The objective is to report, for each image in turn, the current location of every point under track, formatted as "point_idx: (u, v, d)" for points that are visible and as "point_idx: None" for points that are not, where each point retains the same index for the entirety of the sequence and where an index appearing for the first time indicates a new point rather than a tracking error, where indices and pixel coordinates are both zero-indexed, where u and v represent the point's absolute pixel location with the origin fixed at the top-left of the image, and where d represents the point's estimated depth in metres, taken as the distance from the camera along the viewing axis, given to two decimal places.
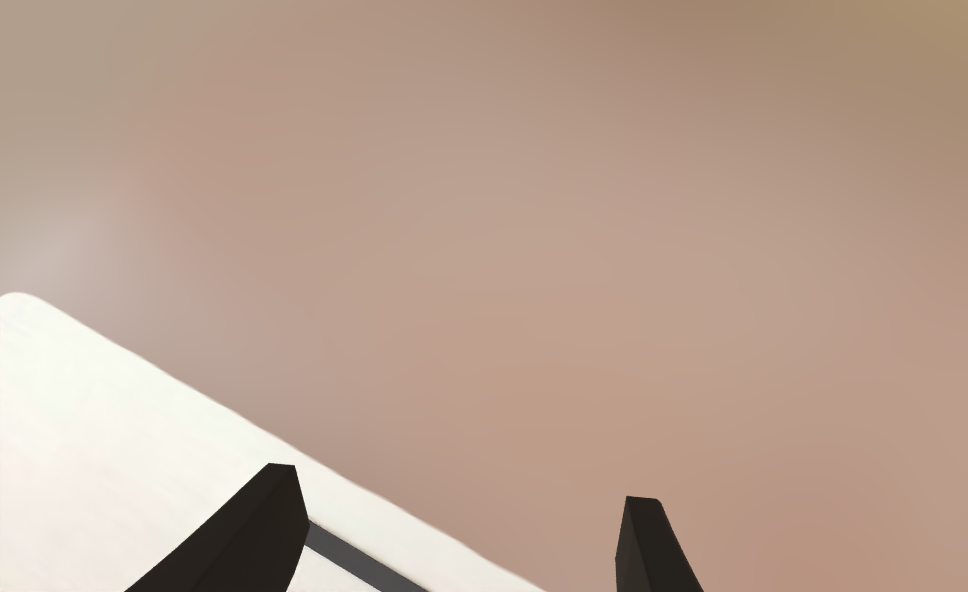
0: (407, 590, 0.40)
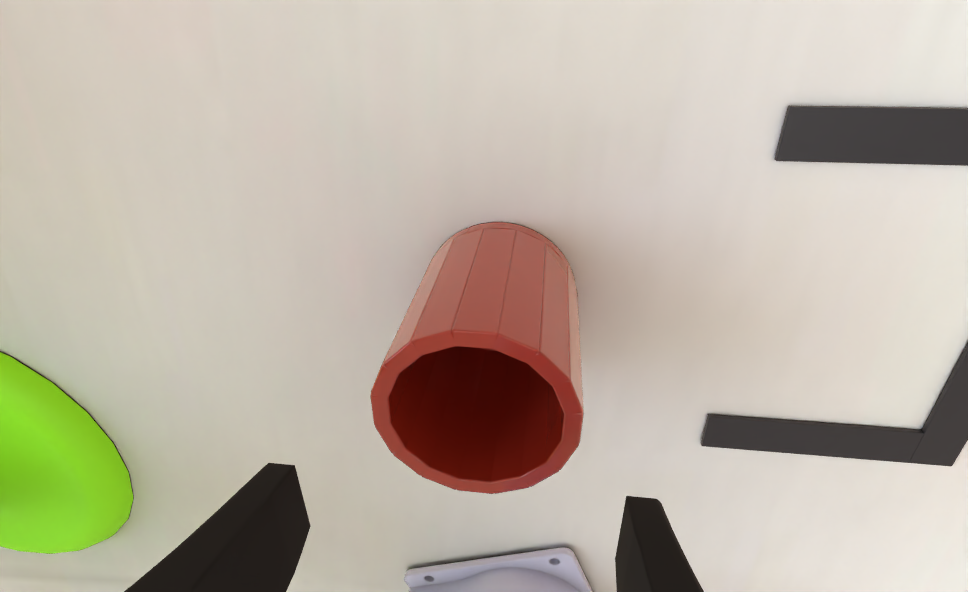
0: (954, 431, 0.21)
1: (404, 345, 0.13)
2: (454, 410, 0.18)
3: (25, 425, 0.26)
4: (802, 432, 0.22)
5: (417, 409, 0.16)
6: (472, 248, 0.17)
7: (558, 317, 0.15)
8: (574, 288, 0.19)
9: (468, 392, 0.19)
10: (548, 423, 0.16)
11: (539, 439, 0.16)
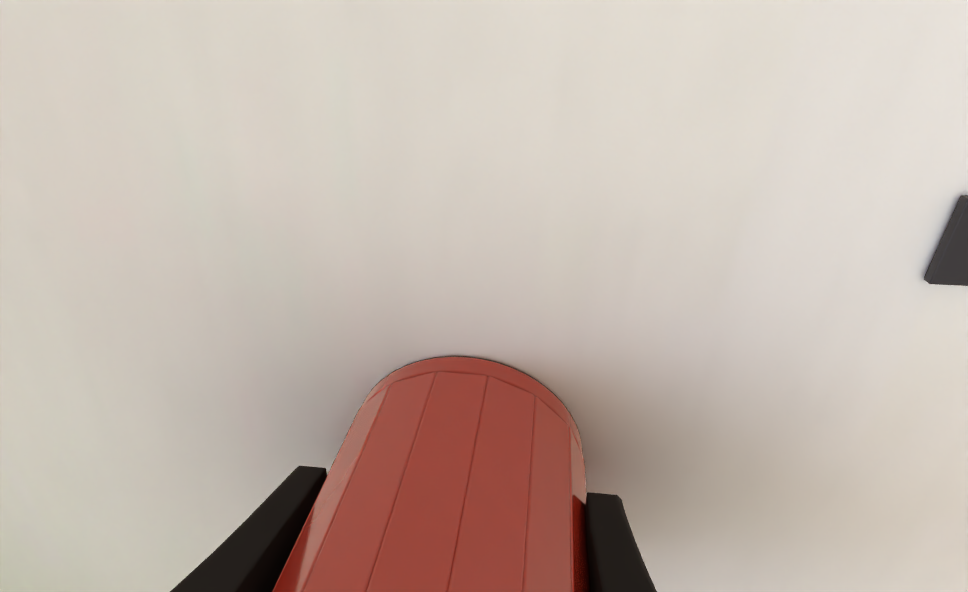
0: None
1: None
2: None
3: None
4: None
5: None
6: (410, 422, 0.10)
7: None
8: (580, 464, 0.12)
9: None
10: None
11: None
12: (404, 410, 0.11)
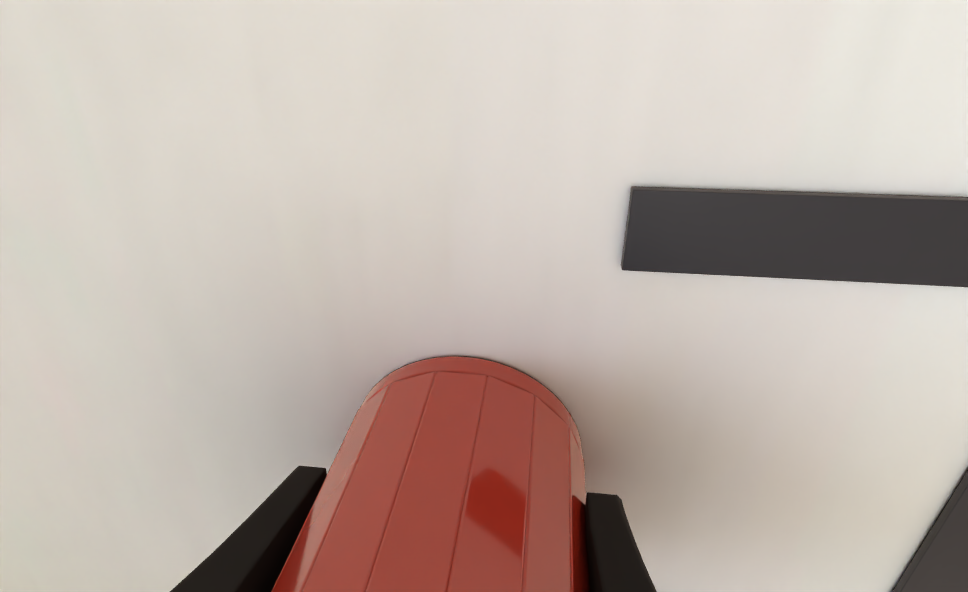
0: None
1: None
2: None
3: None
4: None
5: None
6: (410, 422, 0.10)
7: None
8: (580, 464, 0.12)
9: None
10: None
11: None
12: (404, 410, 0.11)
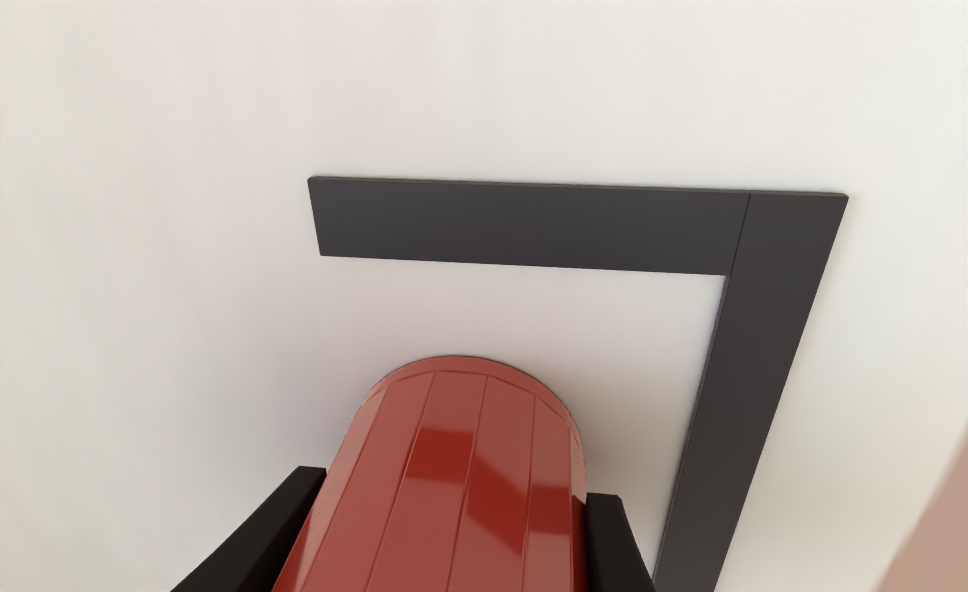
0: None
1: None
2: None
3: None
4: None
5: None
6: (410, 422, 0.10)
7: None
8: (580, 464, 0.12)
9: None
10: None
11: None
12: (404, 410, 0.11)
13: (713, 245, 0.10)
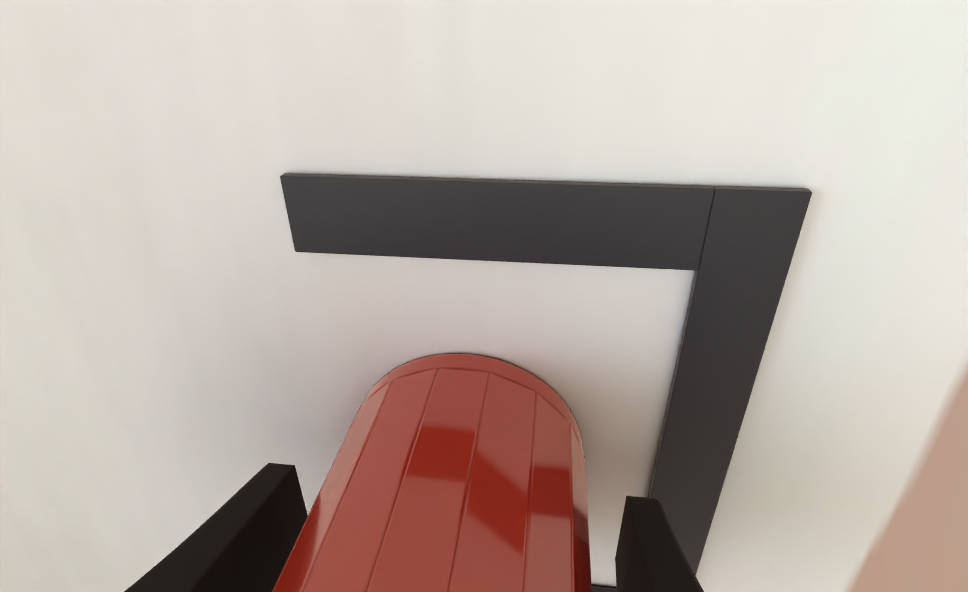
0: None
1: None
2: None
3: None
4: None
5: None
6: (412, 418, 0.10)
7: (554, 587, 0.08)
8: (581, 461, 0.12)
9: None
10: None
11: None
12: (406, 406, 0.11)
13: (680, 240, 0.10)
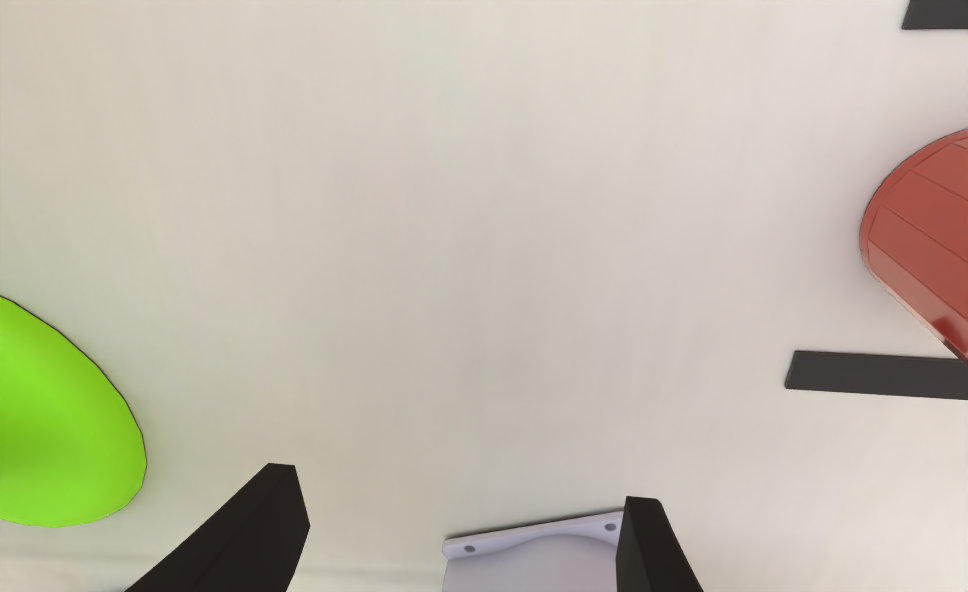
0: None
1: None
2: None
3: (28, 379, 0.23)
4: (904, 369, 0.19)
5: None
6: None
7: None
8: None
9: None
10: None
11: None
12: None
13: None
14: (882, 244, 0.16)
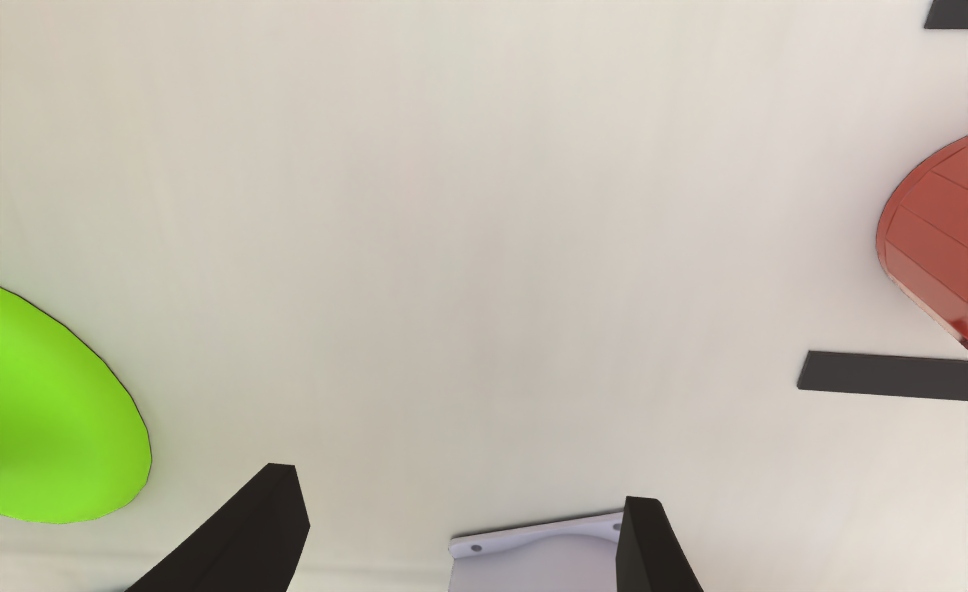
0: None
1: None
2: None
3: (34, 374, 0.23)
4: (917, 371, 0.19)
5: None
6: None
7: None
8: None
9: None
10: None
11: None
12: None
13: None
14: (900, 244, 0.16)
